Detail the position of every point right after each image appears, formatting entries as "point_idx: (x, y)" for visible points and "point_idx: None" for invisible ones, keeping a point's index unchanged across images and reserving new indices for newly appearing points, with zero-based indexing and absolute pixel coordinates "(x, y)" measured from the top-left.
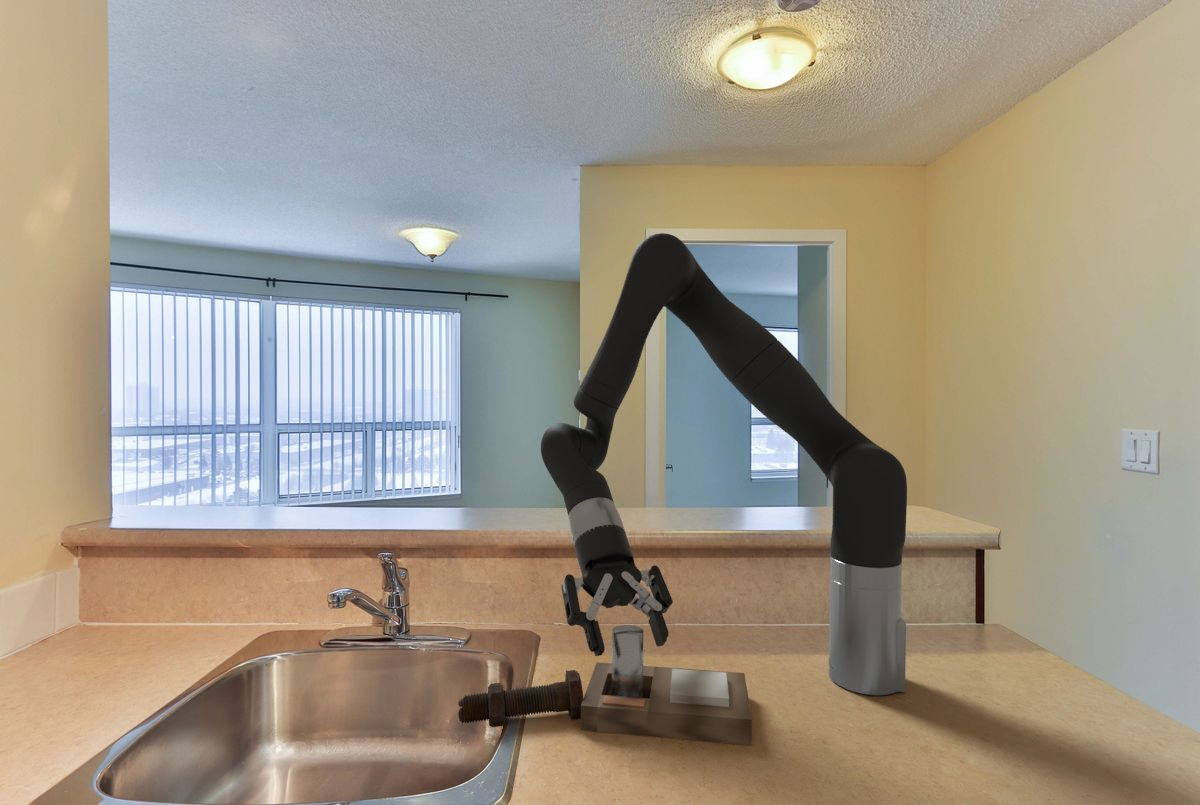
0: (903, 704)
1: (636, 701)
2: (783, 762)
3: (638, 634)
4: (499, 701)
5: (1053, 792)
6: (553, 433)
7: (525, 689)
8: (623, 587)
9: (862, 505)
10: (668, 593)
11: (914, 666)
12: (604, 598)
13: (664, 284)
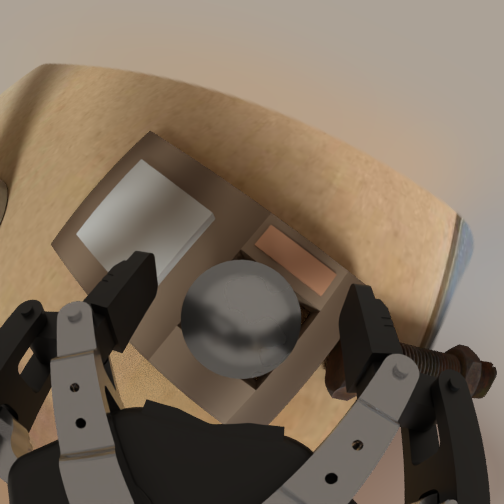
0: (8, 165)
1: (274, 246)
2: (161, 119)
3: (224, 269)
4: (468, 354)
5: (70, 66)
6: None
7: (434, 375)
8: (155, 468)
9: None
10: (4, 328)
11: None
12: (308, 451)
13: None
